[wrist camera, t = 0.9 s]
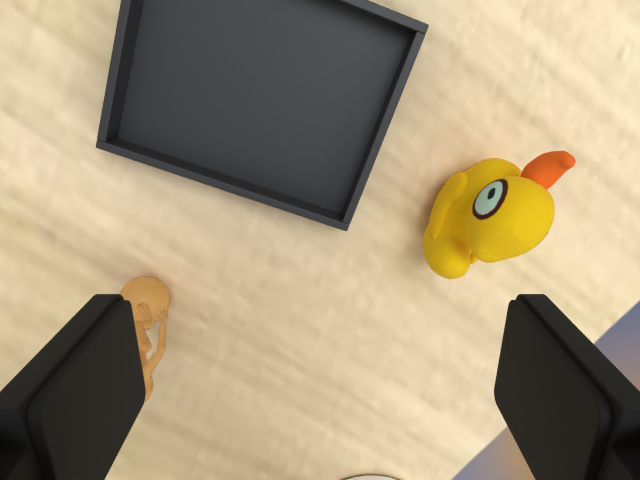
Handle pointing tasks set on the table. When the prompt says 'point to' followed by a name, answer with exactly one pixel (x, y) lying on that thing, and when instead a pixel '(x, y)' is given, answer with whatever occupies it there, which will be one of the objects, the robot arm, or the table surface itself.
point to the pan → (260, 95)
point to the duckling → (492, 212)
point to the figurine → (148, 320)
